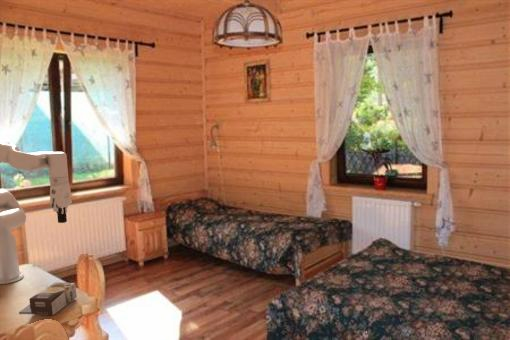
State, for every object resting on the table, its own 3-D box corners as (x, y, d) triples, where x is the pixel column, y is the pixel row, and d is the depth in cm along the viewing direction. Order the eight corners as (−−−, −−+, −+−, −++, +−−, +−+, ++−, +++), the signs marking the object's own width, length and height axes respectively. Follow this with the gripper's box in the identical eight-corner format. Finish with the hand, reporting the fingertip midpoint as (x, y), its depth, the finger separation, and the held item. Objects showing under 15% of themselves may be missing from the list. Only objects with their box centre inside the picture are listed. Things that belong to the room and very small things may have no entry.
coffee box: (75, 282, 180) (51, 299, 165) (77, 297, 181) (53, 315, 165) (54, 281, 182) (28, 298, 166) (56, 296, 183) (30, 314, 167)
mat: (19, 313, 170) (19, 312, 170) (38, 298, 183) (38, 297, 183) (49, 313, 169) (49, 312, 169) (66, 298, 181) (66, 297, 181)
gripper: (58, 183, 186) (61, 227, 188) (75, 178, 200) (79, 218, 203) (40, 183, 186) (44, 226, 189) (59, 178, 201) (63, 218, 204)
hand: (62, 222), depth 196 cm, fingers closed
